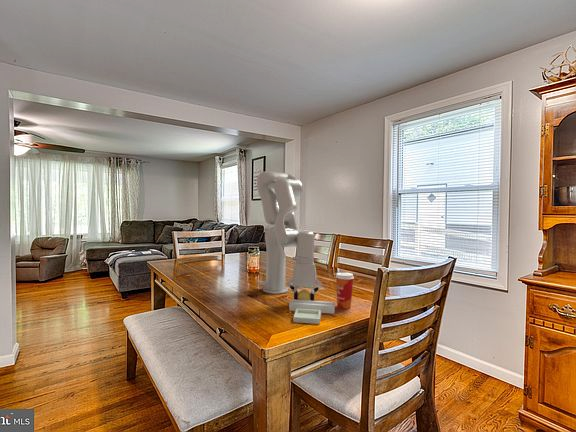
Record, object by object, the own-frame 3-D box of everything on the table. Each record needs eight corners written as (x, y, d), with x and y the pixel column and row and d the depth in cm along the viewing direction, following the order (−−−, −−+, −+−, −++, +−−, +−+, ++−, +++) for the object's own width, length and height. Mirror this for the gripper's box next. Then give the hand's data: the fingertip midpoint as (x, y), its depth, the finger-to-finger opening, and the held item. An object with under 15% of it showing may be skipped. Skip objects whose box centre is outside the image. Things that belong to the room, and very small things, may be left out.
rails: (289, 310, 121) (289, 303, 121) (291, 306, 126) (291, 299, 126) (334, 313, 118) (334, 306, 118) (334, 309, 123) (334, 302, 123)
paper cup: (332, 304, 130) (333, 272, 130) (350, 303, 131) (351, 272, 130) (337, 310, 122) (338, 276, 122) (355, 310, 123) (356, 276, 122)
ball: (296, 305, 127) (296, 291, 127) (297, 301, 133) (298, 287, 133) (310, 306, 126) (310, 292, 126) (311, 302, 132) (311, 288, 132)
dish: (293, 322, 109) (293, 317, 109) (296, 312, 118) (296, 308, 118) (319, 324, 107) (319, 319, 107) (320, 314, 117) (321, 310, 117)
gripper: (283, 260, 127) (282, 303, 127) (324, 262, 124) (323, 305, 124) (286, 257, 134) (285, 297, 134) (325, 259, 131) (324, 300, 132)
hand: (304, 301), depth 129 cm, fingers closed on ball, 5 cm apart
